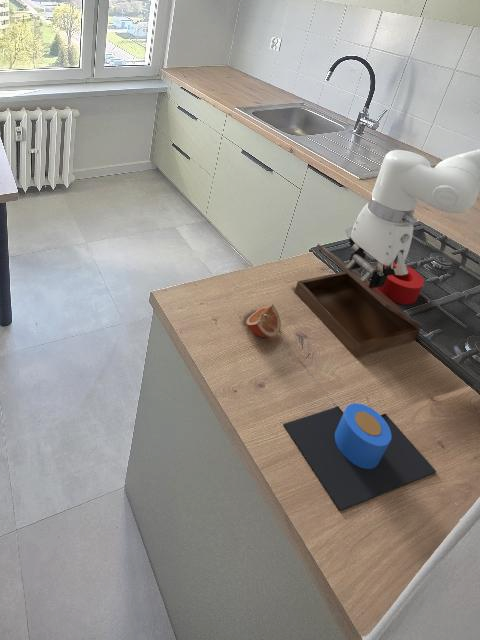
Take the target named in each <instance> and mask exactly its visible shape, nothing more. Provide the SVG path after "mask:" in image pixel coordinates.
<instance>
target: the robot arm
mask: <svg viewBox="0 0 480 640" xmlns="http://www.w3.org/2000/svg"><path fill="white" fill-rule="evenodd" d="M479 194H480V148H479V149H474V150H471V151H467V152H464V153H459V154H456V155H452V156H449V157H447V158H445V159H443V160H441V161H440V162H438V163H437V164H436V165H435V167H432V165H431V163H430V160H428V159H427V157H425V156H423V155H421V154H418V153H417V152H413V151H409V150H404V149H394V150H390V151H388V152H387V153H386V154H385V156H384V157H383V160H382V163H381V166H380V169H379V173H378V175H377V178H376V180H375V184H374V186H373V189H372V192H371V195H370V198H369V201H368V202H367V203H366V204H365V205H364V206H363V208H362V209H361V211H360V212H359V214H358V216H357V217H356V220H355V222H354V224H353V226H351V227H349V228H346V229H345V231H344V232H345V234H346V236H347V239H348V243H349V246H350V250H349V251H350V253H351V254H350V255H351V256H350V258H349V261H348V262H349V263H350V262H351V260H352V257H353V256H354V255H355V254H358V255H359V256H360V257H362V258H363V259H364V260H365V257H366V254H368V255H370V256H371V257H372V258H373V259H375V260H376V261H377V267H376V270H377V272H374V274H373V275H371V279H370V281H369V282H370V284H369V286H370V287H371V288H376V287H382V286H384V284H385V282H386V279H387V277H388V275H401V276H402V275H407V274H408V271H407V268H406V266H407V264H406V260H407V258H408V255H409V251H410V247H411V244H412V240H413V235H414V224H416V223H417V221H418V219H417V217H415V216H414V213H415V210H416V207H417V204H418V202H419V201H420V202H422V203H424V204H426V205H428V206H429V207H430V206H431V207H432V208H434V209H437V210H439V211H441V212H445V213H449V214H460V213H463V212H466V211H468V210H470V209H471V208H472V207H473V206H474V204H475V202H476V200H477V198H478V195H479ZM393 261H394V262H395V265H396V268H393ZM349 263H348V264H349ZM385 265H386V269H385ZM361 268H362V267H361V266H360V265H359V264H357V263H355V264H354V265H353V266H352V267H351V268H350V269H351V270H352V269H355V270H357V269H361Z"/></svg>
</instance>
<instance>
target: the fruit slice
mask: <svg viewBox="0 0 480 640" xmlns="http://www.w3.org/2000/svg"><path fill="white" fill-rule="evenodd" d="M245 324H246V327H247V328H248V329H249V330H250V332H252V333H253V334H255V335H256V336H258V337H261V338H275V337H277V336H278V335H279V334H280V331H281V325H282V322H281V318H280V315H279V312H278V310H277V308H276V306H275V305H274V304H273V303H272V304H266V305H263V306H262V307H260V308H259V309H257V310H256V311H254V312H253V313H251V314H250V315H249V316H248V318H246V320H245Z"/></svg>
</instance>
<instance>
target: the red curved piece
mask: <svg viewBox="0 0 480 640" xmlns="http://www.w3.org/2000/svg"><path fill="white" fill-rule="evenodd" d="M393 268H396V265H395V262H394V261H393ZM406 268H407V271H408V274H407V275H402V276H401V275H388V277H387V279H386V282H385V284H384V286H382V287H376V288H377V289H379V290H380V291H381V292H382V293H383V294H385V295H386V296H387V297H388V298H389V299H390V300H392V301H393V302H394V303H396V304H397V303H398V304H401V305H413V304H414V303H416V301H417V300H418V298H419V296H420V294H421V291H422V289H423V287H424V285H425V280H424V278H423V276H421V274H420V273H419V272H417V270H415V269H414V268H412V267H410V266H408V265H406ZM385 269H386V265H385Z"/></svg>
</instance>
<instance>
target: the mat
mask: <svg viewBox="0 0 480 640" xmlns="http://www.w3.org/2000/svg"><path fill="white" fill-rule="evenodd" d="M343 413H344V411H343V410H342V409H341V408H340V406H335V407H331V408H328V409H326V410H323V411H319V412H316V413H313V414H310V415H307V416H303V417H301V418H298V419H294V420H291V421H289V422H288V421H287V422H285V423H283V428H285V430H286V432H287V433H288V434H289V436H290V438H291V439H292V441H293V442H294V444H295V445H296V448H297V449H298V450H299V451H300V453H301V454H302V456H303V458H304V459H305V461H306V462H307V464H308V465H309V467H310V469H311V470H312V471H313V473H314V475H315V476H316V477H317V479H318V481H319V482H320V483H321V486H322V487H323V488H324V490H325V491H326V493H327V495H328V496H329V497H330V499H331V501H332V502H333V504H334V505H335V507H336V508H337V510H338V511H339V512H342V511H345V510H347V509H349V508H352V507H354V506H356V505H359V504H362V503H365V502H367V501H370V500H372V499H374V498H377V497H379V496H381V495H385V494H386V493H389V492H391V491H394V490H396V489H400V488H401V487H404V486H406V485H409V484H412V483H414V482H416V481H419V480H421V479H424V478H426V477H429V476H431V475H434V474H436V473H437V471H438V470H436V469H435V467H433V466H432V465H431V463H430V462H429V460H427V458H426V457H425V456H424V455H423V454H422V453H421V452H420V451H419V450H418V448H417V447H416V446H415V445H414V444H413V443H412V441H410V439H409V438H407V436H406V435H405V434H404V432H403V431H401V429H400V428H399V427H398V426H397V425H396V423H395V422H394V421H393V420H392V418H390V417H389V416H388V415H387V413H382V414H380V415H381V416H382V418H383V419H384V420H385V421H386V423H387V424H388V426H389V428H390V430H391V435H392V438H391V441H390V443H389V445H388V447H387V449H386V451H385V452H384V454H383V456H382V458H381V460H380V462H379V464H378V465H377V466H376V467H375V468H372V469H365V468H361V467H359V466H356V465H355V464H353V463H352V462H350V461H349V460H348V459H347V458H346V457H345V456H344V455H343V454H342V453H341V451H340V450H339V448H338V446H337V444H336V441H335V431H336V429H337V427H338V425H339V422H340V420H341V418H342V416H343Z"/></svg>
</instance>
